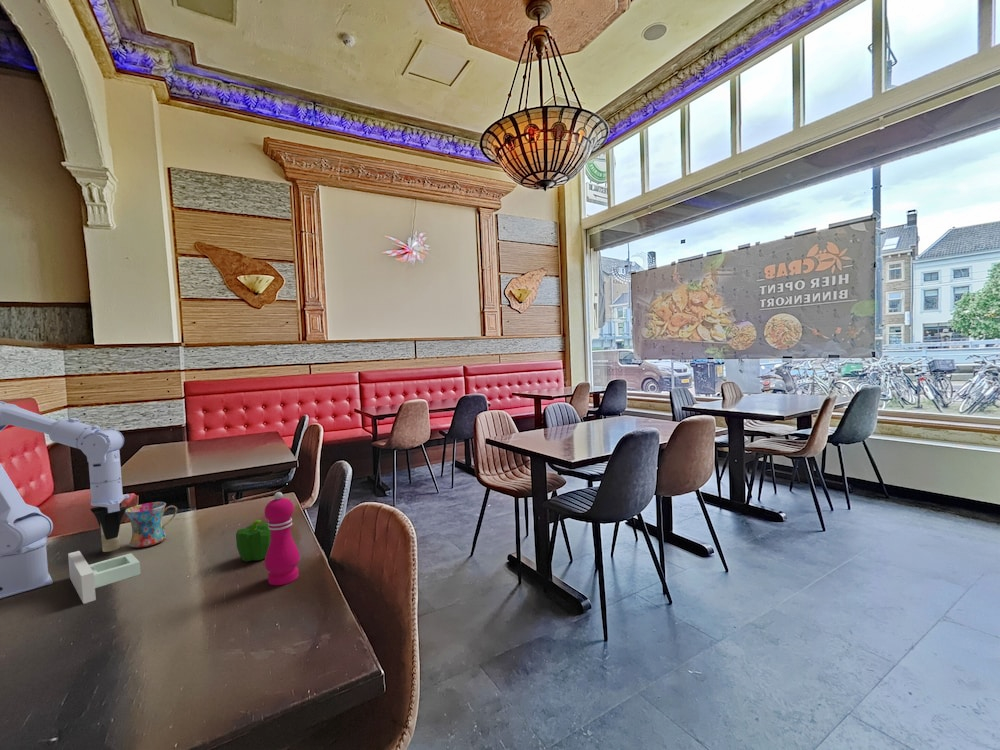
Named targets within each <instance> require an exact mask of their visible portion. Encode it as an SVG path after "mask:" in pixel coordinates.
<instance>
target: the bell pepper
mask: <svg viewBox="0 0 1000 750" xmlns="http://www.w3.org/2000/svg"><path fill="white" fill-rule="evenodd" d="M235 540H236V542H235V543H236V548H237V552H238V553H239V554H238V555H239V557H240V559H241V560H242V561H243V562H245V563H248V562H252V561H261V560H265V557H266V554H267V551H268V548H269V545H270V541H271V532H270V529H268V522H263V521H262V520H261V519H256V520H254V521H253V522H252V524H249V525H248V526H247V527H245V528H240V529H238V530H237V531H236V533H235Z"/></svg>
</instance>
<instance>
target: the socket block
mask: <svg viewBox="0 0 1000 750" xmlns="http://www.w3.org/2000/svg"><path fill="white" fill-rule="evenodd" d="M88 565H89V566H90V568H91V569H92V571H93V572H94V582H95V589H97V588H101V587H104V586H108V585H110V584H113V583H116V582H120V581H124V580H126V579H129V578H133V577H137V576H139V575H140V576H141V573H142V572H141V562H140V560H138V558H136V556H134V554H133V553H132V552H130V553H126V554H123V555H120V556H115V557H113V558H109V559H105V560H101V561H98V562H95V563H91V564H88Z"/></svg>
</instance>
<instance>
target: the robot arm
mask: <svg viewBox="0 0 1000 750" xmlns="http://www.w3.org/2000/svg"><path fill="white" fill-rule="evenodd" d="M8 426H13V427H16V428H17V427H18V428H21V429H22V428H23V429H26V430H30V431H32V432H33V431H35V432H38V433H42V434H45V435H48V436H49V439H50V440H51V442H54V443H57V444H61V445H65V446H67V447H71V448H75V449H78V450H80V451H82V453H83V454H84V455H85V456H86V460H87V463H88V472H89V475H88V476H89V484H90V485H89V486H90V487H89V489H90V506H93V507H92V508H90V512H91V513H92V514H93V515H94V517H95V519H96V520H97V523H98V527H99V530H100V531H101V526H102V529H103V533H104V536H105V538H106V540H109V539H113V538H117V537H118V534H119V535H120V527H121V521H122V520H123V516H124V514H125V511H126V509H127V507H126V506H122V502H123V500H125V499H129V498H130V494H129V493H126V494H123V482H122V481H123V480H122V479H123V478H122V467H121V466H122V465H121V455H120V453H121V452H120V450H121V448H123V446H124V444H125V437H124V435H123V433H122V432H120V431H119V430H118V429H115V428H111V427H110V428H105V429H103V428H101V426H100V425H95V424H94V425H90V424H87V423H84V422H81V421H80V419H79V418H77V417H70V418H69V417H68V418H63V419H60V420H55V419H53V418H50V417H47V416H46V415H45V416H44V415H41V414H39V413H36V412H34V411H30V410H28V409H26V408H22V407H19V406H18V405H16V404H15V403H8V402H5V401H2V400H0V433H1V432H2V431H3V430H4V429H5V428H7V427H8ZM121 506H122V507H121ZM100 523H101V525H100ZM53 529H54V524H53V521H52V519H51V518H50V517H49V516H47V515H45V514H44V513H43V512H42V511H41V510H40V508H39V507H37V506H34V505H31V504H28V503H26V502H25V500H24V499H23V497H22V496H21V494H20V492H19V491H18V489H17V488H16V486H15V485H14V482H13V481H12V480H11V478H10V477H9V475H8V473H7V472H6V470H5V468H4V467H3V465H2V463H1V462H0V599H4V598H7V597H10V596H14V595H18V594H22V593H24V592H27V591H32V590H35V589H39V588H43V587H46V586H50V585H52V584H53V583H54V582H53V579H52V577H51V574H50V573H49V566H48V555H47V554H48V553H47V542H48V536H50V535H51V534H52V532H53Z"/></svg>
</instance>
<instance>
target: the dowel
mask: <svg viewBox="0 0 1000 750" xmlns="http://www.w3.org/2000/svg"><path fill="white" fill-rule="evenodd" d="M100 525H101V523H100ZM100 536H101V548H102V549H101V550H102V552H104V553H105V552H106V553H107V552H113V551H116V550H118V549H120V548H121V544H120V533H119V534H118V537H117V538H113V539H109V540H106V538H105V536H104V533H103V529H102V526H101V530H100Z"/></svg>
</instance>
